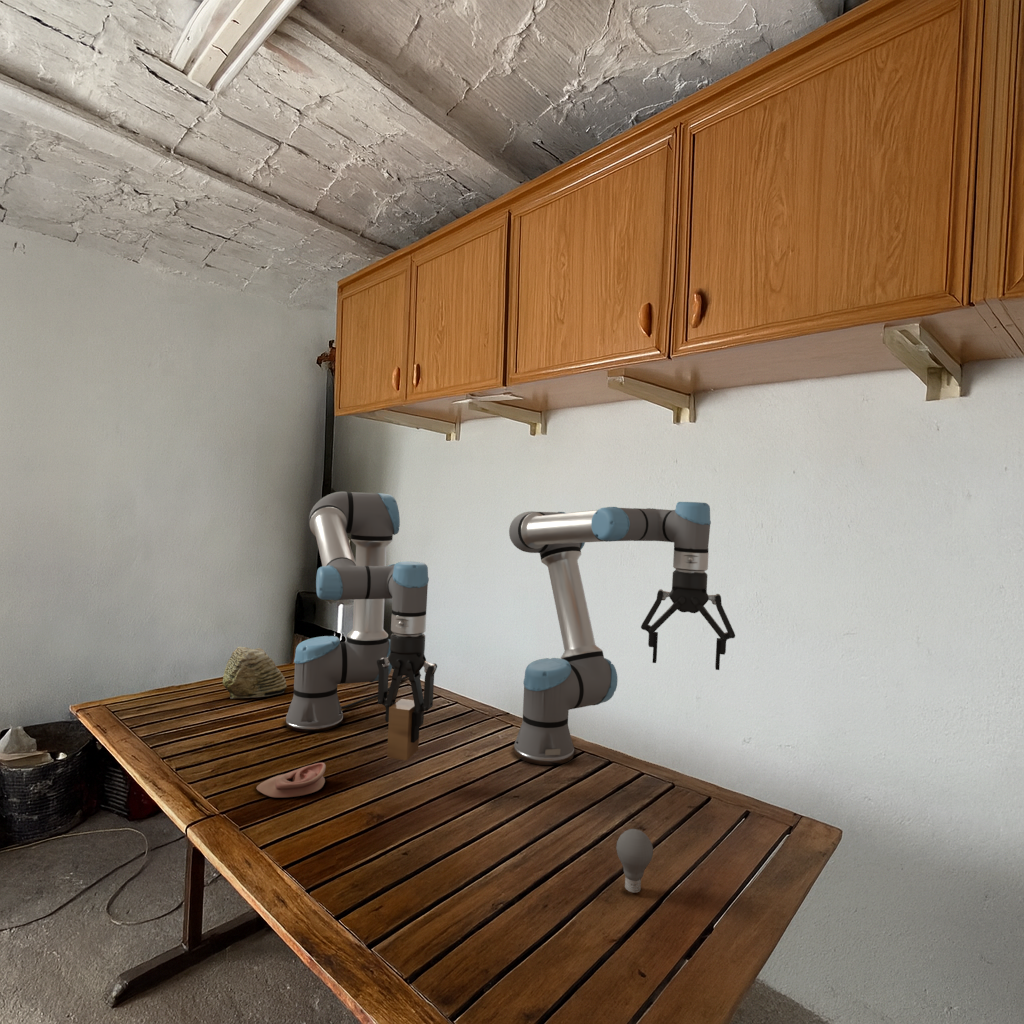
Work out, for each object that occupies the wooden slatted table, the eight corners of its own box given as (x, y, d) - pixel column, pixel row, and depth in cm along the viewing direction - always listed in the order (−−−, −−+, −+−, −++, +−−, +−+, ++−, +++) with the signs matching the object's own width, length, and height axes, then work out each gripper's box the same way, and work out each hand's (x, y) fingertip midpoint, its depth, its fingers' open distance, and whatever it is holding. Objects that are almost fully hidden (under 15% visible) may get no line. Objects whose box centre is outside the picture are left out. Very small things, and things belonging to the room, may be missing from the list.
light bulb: (610, 879, 108) (613, 822, 108) (644, 879, 109) (647, 822, 109) (619, 902, 102) (622, 840, 102) (655, 901, 103) (658, 840, 103)
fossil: (218, 695, 195) (220, 647, 195) (278, 685, 208) (279, 640, 207) (228, 703, 189) (230, 653, 188) (289, 692, 201) (290, 645, 201)
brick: (399, 746, 143) (401, 698, 142) (418, 749, 142) (420, 701, 141) (387, 757, 137) (389, 707, 136) (406, 760, 136) (408, 710, 135)
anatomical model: (248, 775, 133) (279, 754, 144) (247, 794, 133) (278, 771, 144) (306, 783, 130) (332, 761, 142) (305, 802, 130) (332, 779, 142)
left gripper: (363, 632, 137) (358, 738, 138) (439, 641, 132) (434, 751, 133) (379, 625, 144) (374, 726, 145) (452, 633, 140) (447, 738, 140)
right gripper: (632, 568, 142) (627, 662, 142) (750, 576, 135) (745, 675, 135) (635, 565, 149) (630, 655, 149) (747, 573, 142) (743, 667, 142)
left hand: (403, 738), depth 139 cm, fingers closed on brick, 5 cm apart
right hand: (685, 665), depth 142 cm, fingers open, 13 cm apart
